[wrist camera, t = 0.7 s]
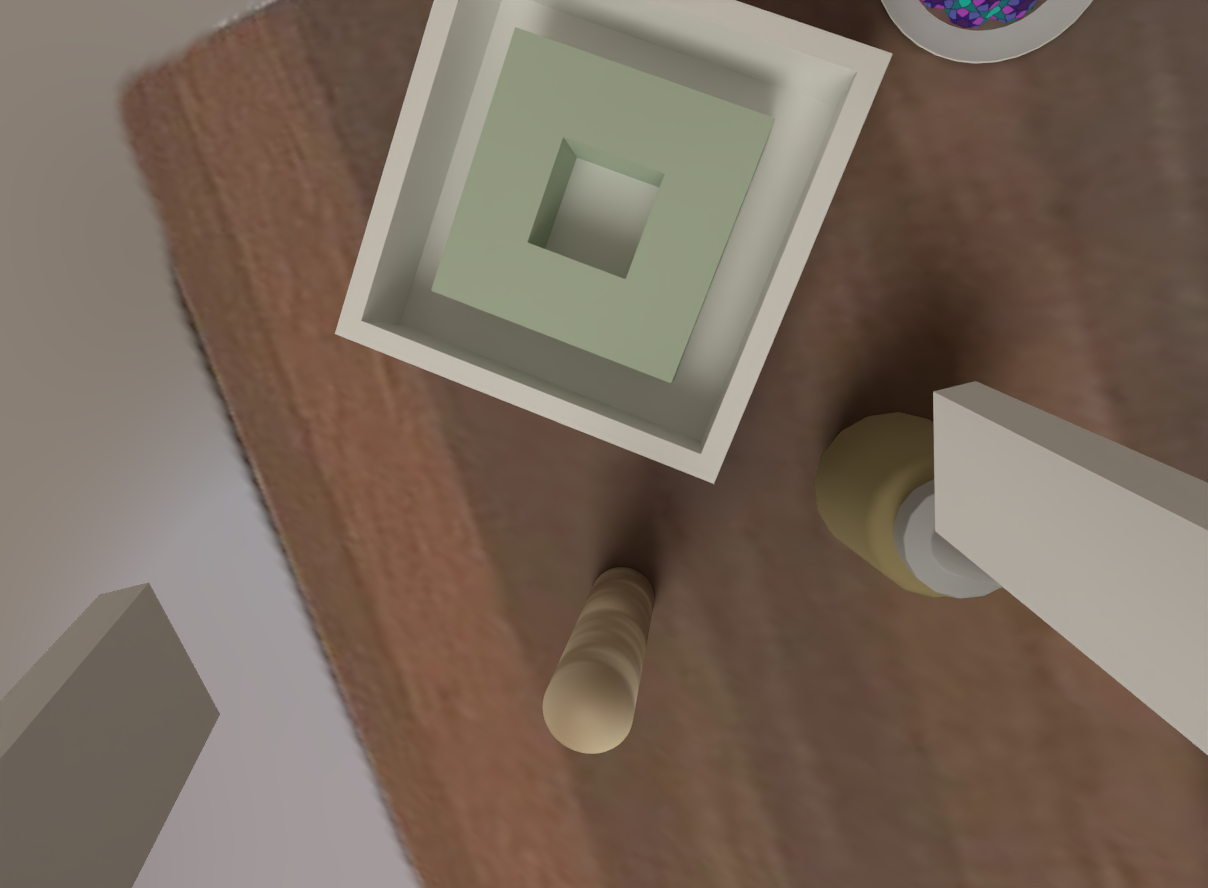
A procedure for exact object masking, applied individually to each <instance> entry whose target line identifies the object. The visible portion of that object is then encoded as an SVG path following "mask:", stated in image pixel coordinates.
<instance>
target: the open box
mask: <svg viewBox="0 0 1208 888" xmlns="http://www.w3.org/2000/svg"><path fill="white" fill-rule="evenodd" d="M515 27H517V28H520V29H522V30H525V31H528V32H531V33H534V34H537V35H540V36H542V37H545V38H548V39H551V40H554V41H557V42H560V43H562V44H565V45H568V46H571V47H574V48H577V49H579V50H582V51H585V52H588V53H591V54H594V55H597V56H599V57H602V58H605V59H608V60H611V61H614V62H616V63H619V64H622V65H625V66H628V67H631V68H634V69H636V70H639V71H642V72H645V73H648V74H651V75H654V76H656V77H659V78H662V79H665V80H668V81H671V82H673V83H676V84H679V85H682V86H685V87H688V88H691V89H693V90H696V91H699V92H702V93H705V94H708V95H711V96H713V97H716V98H719V99H722V100H725V101H728V102H730V103H733V104H736V105H739V106H742V107H745V108H748V109H750V110H753V111H756V112H759V113H762V114H765V115H767V116H770V117H773V118H775V120H774V124H773V127H772V130H771V133H770V136H769V139H768V142H767V144H766V147H765V149H764V152H763V154H762V157H761V160H760V162H759V165H758V167H757V170H756V172H755V175H754V177H753V180H752V182H751V185H750V187H749V190H748V193H747V195H746V198H745V200H744V203H743V205H742V208H741V210H740V213H739V215H738V218H737V221H736V223H735V226H734V228H733V231H732V233H731V236H730V238H729V241H728V243H727V246H726V249H725V251H724V254H723V256H722V259H721V261H720V264H719V266H718V269H717V271H716V274H715V277H714V279H713V282H712V284H711V287H710V289H709V292H708V294H707V297H706V299H705V302H704V305H703V307H702V310H701V312H700V315H699V317H698V320H697V322H696V325H695V327H694V330H693V333H692V335H691V338H690V340H689V343H688V345H687V348H686V350H685V353H684V355H683V358H682V360H681V363H680V366H679V368H678V371H677V373H676V376H675V378H674V380H673V382H672V383H669V382H666V381H664V380H661V379H658V378H656V377H653V376H651V375H648V374H645V373H643V372H640V371H638V370H635V369H633V368H630V367H627V366H625V365H622V364H620V363H617V362H614V361H612V360H609V359H607V358H604V357H601V356H599V355H596V354H594V353H591V352H589V351H586V350H583V349H581V348H578V347H576V346H573V345H570V344H568V343H565V342H563V341H560V340H557V339H555V338H552V337H550V336H547V335H545V334H542V333H539V332H537V331H534V330H532V329H529V328H526V327H524V326H521V325H519V324H516V323H513V322H511V321H508V320H506V319H503V318H501V317H498V316H495V315H493V314H490V313H488V312H485V311H482V310H480V309H477V308H475V307H472V306H469V305H467V304H464V303H462V302H459V301H457V300H454V299H451V298H449V297H446V296H444V295H441V294H438V293H436V292H433V291H431V289H432V286H433V283H434V280H435V276H436V273H437V270H438V267H439V264H440V261H441V258H442V255H443V251H444V248H445V245H446V242H447V239H448V236H449V233H450V230H451V226H452V223H453V220H454V217H455V214H456V211H457V208H458V204H459V201H460V198H461V195H462V192H463V189H464V186H465V183H466V179H467V176H468V173H469V170H470V167H471V164H472V161H473V157H474V154H475V151H476V148H477V145H478V142H479V139H480V136H481V132H482V129H483V126H484V123H485V120H486V117H487V114H488V111H489V107H490V104H491V101H492V98H493V95H494V92H495V89H496V85H497V82H498V79H499V76H500V73H501V70H502V67H503V64H504V60H505V57H506V54H507V51H508V48H509V45H510V42H511V38H512V35H513V32H514V29H515ZM891 57H892V53H889V52H886V51H883V50H881V49H878V48H875V47H872V46H869V45H866V44H863V43H860V42H857V41H854V40H851V39H848V38H845V37H842V36H839V35H836V34H833V33H830V32H827V31H824V30H822V29H819V28H816V27H813V26H810V25H807V24H804V23H801V22H798V21H795V20H792V19H789V18H786V17H783V16H780V15H777V14H774V13H771V12H768V11H765V10H763V9H760V8H757V7H754V6H751V5H748V4H745V3H742V2H739V1H736V0H434V2H433V6H432V9H431V12H430V16H429V19H428V22H427V26H426V29H425V33H424V36H423V39H422V43H421V46H420V49H419V53H418V56H417V59H416V63H415V66H414V70H413V73H412V76H411V80H410V83H409V86H408V90H407V93H406V96H405V100H404V103H403V107H402V110H401V113H400V117H399V120H398V123H397V127H396V130H395V133H394V137H393V140H392V144H391V147H390V150H389V154H388V157H387V160H386V164H385V167H384V170H383V174H382V177H381V181H380V184H379V187H378V191H377V194H376V197H375V201H374V204H373V207H372V211H371V214H370V218H369V221H368V224H367V228H366V231H365V234H364V238H363V241H362V244H361V248H360V251H359V255H358V258H357V261H356V265H355V268H354V271H353V275H352V278H351V281H350V285H349V288H348V292H347V295H346V298H345V302H344V305H343V308H342V312H341V315H340V318H339V322H338V325H337V329H336V332H335V334H337V335H339V336H342V337H344V338H347V339H349V340H352V341H354V342H357V343H359V344H362V345H364V346H367V347H370V348H372V349H375V350H377V351H380V352H382V353H385V354H387V355H390V356H392V357H395V358H397V359H400V360H402V361H405V362H407V363H410V364H412V365H415V366H417V367H420V368H423V369H425V370H428V371H430V372H433V373H435V374H438V375H440V376H443V377H445V378H448V379H450V380H453V381H455V382H458V383H460V384H463V385H465V386H468V387H470V388H473V389H476V390H478V391H481V392H483V393H486V394H488V395H491V396H493V397H496V398H498V399H501V400H503V401H506V402H508V403H511V404H513V405H516V406H518V407H521V408H524V409H526V410H529V411H531V412H534V413H536V414H539V415H541V416H544V417H546V418H549V419H551V420H554V421H556V422H559V423H561V424H564V425H566V426H569V427H571V428H574V429H577V430H579V431H582V432H584V433H587V434H589V435H592V436H594V437H597V438H599V439H602V440H604V441H607V442H609V443H612V444H614V445H617V446H619V447H622V448H624V449H627V450H630V451H632V452H635V453H637V454H640V455H642V456H645V457H647V458H650V459H652V460H655V461H657V462H660V463H662V464H665V465H667V466H670V467H672V468H675V469H677V470H680V471H683V472H685V473H688V474H690V475H693V476H695V477H698V478H700V479H703V480H705V481H708V482H710V483H713V484H714V482H715V480H716V478H717V475H718V473H719V470H720V468H721V466H722V463H723V461H724V458H725V456H726V453H727V451H728V449H729V446H730V444H731V441H732V439H733V437H734V434H735V432H736V429H737V427H738V425H739V422H740V420H741V417H742V415H743V413H744V410H745V408H746V405H747V403H748V401H749V398H750V396H751V393H752V391H753V389H754V386H755V384H756V381H757V379H758V377H759V374H760V372H761V369H762V367H763V364H764V362H765V360H766V357H767V355H768V352H769V350H770V348H771V345H772V343H773V340H774V338H775V336H776V333H777V331H778V328H779V326H780V324H781V321H782V319H783V316H784V314H785V312H786V309H787V307H788V304H789V302H790V300H791V297H792V295H793V292H794V290H795V288H796V285H797V283H798V280H799V278H800V275H801V273H802V271H803V268H804V266H805V263H806V261H807V259H808V256H809V254H810V251H811V249H812V247H813V244H814V242H815V239H816V237H817V235H818V232H819V230H820V227H821V225H822V223H823V220H824V218H825V215H826V213H827V211H828V208H829V206H830V203H831V201H832V198H833V196H834V194H835V191H836V189H837V186H838V184H839V182H840V179H841V177H842V174H843V172H844V170H845V167H846V165H847V162H848V160H849V158H850V155H851V153H852V150H853V148H854V146H855V143H856V141H857V138H858V136H859V134H860V131H861V129H862V126H863V124H864V122H865V119H866V117H867V114H868V112H869V109H870V107H871V105H872V102H873V100H874V97H875V95H876V93H877V90H878V88H879V85H880V83H881V81H882V78H883V76H884V73H885V71H886V69H887V66H888V64H889V61H890V59H891ZM658 190H659V187H656V186H654V185H651V184H648V183H645V182H643V181H640V180H637V179H634V178H632V177H629V176H626V175H623V174H621V173H618V172H615V171H612V170H610V169H607V168H604V167H602V166H599V165H596V164H593V163H591V162H588V161H585V160H582V159H580V158H576V161H575V164H574V167H573V170H572V173H571V176H570V178H569V181H568V184H567V187H566V190H565V193H564V196H563V199H562V202H561V204H560V207H559V210H558V213H557V216H556V219H555V222H554V225H553V228H552V230H551V233H550V236H549V239H548V242H547V245H546V248H545V249H546V250H549V251H552V252H554V253H557V254H559V255H562V256H565V257H567V258H570V259H573V260H575V261H578V262H581V263H583V264H586V265H589V266H591V267H594V268H597V269H599V270H602V271H605V272H607V273H610V274H613V275H615V276H618V277H621V278H623V279H626V277H627V274H628V272H629V269H630V266H631V263H632V261H633V258H634V255H635V253H636V250H637V247H638V245H639V242H640V239H641V236H642V234H643V231H644V228H645V226H646V223H647V220H648V217H649V215H650V212H651V209H652V207H653V204H654V201H655V199H656V196H657V193H658Z"/></svg>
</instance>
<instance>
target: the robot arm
mask: <svg viewBox="0 0 1208 888" xmlns="http://www.w3.org/2000/svg"><path fill="white" fill-rule="evenodd" d="M933 416H934V485H935V531H936V532H937V533H938V534H939V535H940V536H942V537H943V538H944V539H945V540H947V541H948V542H949V543H950V544H951V545H953V546H954V547H955V548H956V549H958V550H959V551H960V552H961V553H962V554H964V555H965V556H966V557H967V558H968V559H970V560H971V561H972V562H973V563H975V564H976V565H977V566H978V567H979V568H981V569H982V570H983V571H984V572H986V573H987V574H988V575H989V576H990V577H992V578H993V579H994V580H995V581H996V582H998V583H999V584H1000V585H1001V586H1003V587H1004V588H1005V589H1006V590H1007V591H1009V592H1010V593H1011V594H1012V595H1013V596H1015V597H1016V598H1017V599H1018V600H1020V601H1021V602H1022V603H1023V604H1024V605H1026V606H1027V607H1028V608H1029V609H1031V610H1032V611H1033V612H1034V613H1035V614H1037V615H1038V616H1039V617H1040V618H1041V619H1043V620H1044V621H1045V622H1046V623H1048V624H1049V625H1050V626H1051V627H1052V628H1054V629H1055V630H1056V631H1057V632H1059V633H1060V634H1061V635H1062V636H1063V637H1065V638H1066V639H1067V640H1068V641H1069V642H1071V643H1072V644H1073V645H1074V646H1076V647H1077V648H1078V649H1079V650H1080V651H1082V652H1083V653H1084V654H1085V655H1087V656H1088V657H1089V658H1090V659H1091V660H1093V661H1094V662H1095V663H1096V664H1097V665H1099V666H1100V667H1101V668H1102V669H1104V670H1105V671H1106V672H1107V673H1108V674H1110V675H1111V676H1112V677H1113V678H1114V679H1116V680H1117V681H1118V682H1119V683H1121V684H1122V685H1123V686H1124V687H1125V688H1127V689H1128V690H1129V691H1130V692H1132V693H1133V694H1134V695H1135V696H1136V697H1138V698H1139V699H1140V700H1141V701H1142V702H1144V703H1145V704H1146V705H1147V706H1149V707H1150V708H1151V709H1152V710H1153V711H1155V712H1156V713H1157V714H1158V715H1160V716H1161V717H1162V718H1163V719H1164V720H1166V721H1167V722H1168V723H1169V724H1170V725H1172V726H1173V727H1174V728H1175V729H1177V730H1178V731H1179V732H1180V733H1181V734H1183V735H1184V736H1185V737H1186V738H1188V739H1189V740H1190V741H1191V742H1192V743H1194V744H1195V745H1196V746H1197V747H1198V748H1200V749H1201V750H1202V751H1203V752H1205V753H1206V754H1207V755H1208V483H1207V482H1204V481H1202V480H1200V479H1198V478H1195V477H1193V476H1191V475H1188V474H1186V473H1184V472H1182V471H1179V470H1177V469H1175V468H1172V467H1170V466H1168V465H1166V464H1163V463H1161V462H1159V461H1157V460H1154V459H1152V458H1150V457H1147V456H1145V455H1143V454H1141V453H1138V452H1136V451H1134V450H1131V449H1129V448H1127V447H1125V446H1122V445H1120V444H1118V443H1116V442H1113V441H1111V440H1109V439H1106V438H1104V437H1102V436H1100V435H1097V434H1095V433H1093V432H1090V431H1088V430H1086V429H1084V428H1081V427H1079V426H1077V425H1075V424H1072V423H1070V422H1068V421H1065V420H1063V419H1061V418H1059V417H1056V416H1054V415H1052V414H1050V413H1047V412H1045V411H1043V410H1040V409H1038V408H1036V407H1034V406H1031V405H1029V404H1027V403H1024V402H1022V401H1020V400H1018V399H1015V398H1013V397H1011V396H1009V395H1006V394H1004V393H1002V392H999V391H997V390H995V389H993V388H990V387H988V386H986V385H983V384H981V383H979V382H977V381H974V382H970V383H966V384H962V385H958V386H954V387H950V388H946V389H941V390H937V391H933ZM219 715H220V713H219V712H218V710H217V708H216V707H215V704H214V703H213V701H212V699H211V697H210V695H209V693H208V691H207V689H206V687H205V686H204V684H203V682H202V680H201V678H200V676H199V675H198V673H197V671H196V669H195V667H194V665H193V663H192V662H191V660H190V658H189V656H188V654H187V652H186V650H185V649H184V647H183V645H182V643H181V641H180V639H179V637H178V636H177V634H176V632H175V630H174V628H173V627H172V625H171V623H170V621H169V619H168V617H167V615H166V613H165V612H164V610H163V608H162V606H161V604H160V602H159V600H158V599H157V597H156V595H155V593H154V591H153V589H152V588H151V586H150V584H149V583H146V584H141V585H137V586H133V587H129V588H125V589H121V590H117V591H113V592H109V593H105V594H100V595H99V596H98V597H97V598H96V599H95V600H94V601H93V602H92V604H91V605H90V606H89V607H88V608H87V609H86V610H85V611H84V612H83V613H82V615H81V616H79V617H78V618H77V620H76V621H75V622H74V623H73V624H72V625H71V626H70V627H69V628H68V629H67V630H66V631H65V632H64V634H63V635H62V636H61V637H60V638H59V639H58V640H57V641H56V642H55V643H54V644H53V645H52V646H51V647H50V648H49V649H48V651H47V652H46V653H45V654H44V655H43V656H42V657H41V658H40V659H39V660H38V661H37V662H36V663H35V664H34V666H33V667H32V668H31V669H30V670H29V671H28V672H27V673H26V674H25V675H24V676H23V677H22V678H21V679H20V681H19V682H18V683H17V684H16V685H15V686H14V687H13V688H12V689H11V690H10V691H9V692H8V693H7V694H6V696H5V697H4V698H3V699H2V700H1V701H0V888H132V886H133V884H134V882H135V880H136V878H137V876H138V874H139V872H140V870H141V869H142V867H143V865H144V863H145V861H146V858H147V857H148V855H149V853H150V851H151V849H152V847H153V845H154V843H155V841H156V839H157V837H158V835H159V833H160V831H161V829H162V827H163V825H164V823H165V821H166V819H167V817H168V815H169V813H170V812H171V810H172V807H173V806H174V804H175V801H176V800H177V798H178V796H179V794H180V792H181V790H182V788H183V786H184V784H185V782H186V780H187V778H188V776H189V774H190V772H191V770H192V768H193V766H194V764H195V762H196V760H197V758H198V756H199V755H200V752H201V750H202V748H203V747H204V745H205V743H206V741H207V739H208V737H209V735H210V733H211V731H212V729H213V727H214V725H215V723H216V721H217V719H218V717H219Z"/></svg>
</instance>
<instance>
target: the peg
mask: <svg viewBox="0 0 1208 888" xmlns="http://www.w3.org/2000/svg"><path fill="white" fill-rule="evenodd" d="M653 605H654V592H653V589H652V586H651V584H650V582H649V581H648V580H647V578H646V577H645V576H644V575H643V574H641V573H640V572H638V571H636V570H634V569H632V568H628V567H615V568H611V569H609V570H607V571H605V572H603V573H602V574H601V575H600V576H599V577H598V578H597V580H596V581H595V583H594V585H593V587H592V590H591V592H590V594H589V596H588V599H587V601H586V603H585V605H584V608H583V610H582V612H581V614H580V617H579V619H578V621H577V623H576V626H575V628H574V630H573V632H572V634H571V637H570V639H569V641H568V643H567V646H566V648H565V650H564V652H563V655H562V657H561V659H560V661H559V664H558V666H557V668H556V670H555V673H554V675H553V677H552V679H551V682H550V684H549V686H548V688H547V691H546V693H545V696H544V700H543V714H544V719H545V722H546V724H547V726H548V728H549V730H550V732H551V733H552V734H553V736H554V737H555V738H556V739H557V740H558V741H559V742H561V743H562V744H563V745H565V746H566V747H568V748H570V749H572V750H575V751H578V752H582V753H589V754H592V753H602V752H605V751H608V750H610V749H612V748H614V747H616V746H617V745H619V744H620V743H621V742H622V741H623V740H624V739H625V737H626V736H627V735H628V733H629V731H630V729H631V726H632V722H633V717H634V711H635V705H636V700H637V694H638V689H639V683H640V678H641V672H642V666H643V661H644V655H645V650H646V644H647V639H648V633H649V627H650V622H651V616H652V611H653Z"/></svg>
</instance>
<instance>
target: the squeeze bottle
mask: <svg viewBox="0 0 1208 888" xmlns="http://www.w3.org/2000/svg"><path fill="white" fill-rule="evenodd" d="M814 486H815V494H816V502H817V509H818V512H819V514H820V515H821V517H822V519H823V520H824V522H825V524H826V525H827V527H828V529H829V530H830V532H831V534H832V535H833V536H834V537H836V538H837V539H838V540H840V541H841V542H842V543H844V544H845V545H846V546H848V547H849V548H850V549H851V550H853V551H854V552H855V553H857V554H858V555H859V556H861V557H862V558H863V559H865V560H866V561H867V562H868V563H870V564H871V565H872V566H874V567H875V568H876V569H878V570H879V571H880V572H882V573H883V574H884V575H886V576H887V577H888V578H890V579H891V580H892V581H894V582H895V583H897V584H898V585H899V586H901V587H902V588H903V589H905V590H907V591H911V592H915V593H919V594H922V595H926V596H930V597H934V598H938V597H948V596H952V597H955V598H968V597H978V596H984V595H986V594H988V593H990V592H993V591H995V590H997V589H999V588H1001V587H1002V588H1004V587H1003V586H1001V585H1000V584H999V583H998V582H996V581H995V580H994V579H993V578H992V577H990V576H989V575H988V574H987V573H986V572H984V571H983V570H982V569H981V568H979V567H978V566H977V565H976V564H975V563H973V562H972V561H971V560H970V559H968V558H967V557H966V556H965V555H964V554H962V553H961V552H960V551H959V550H958V549H956V548H955V547H954V546H953V545H951V544H950V543H949V542H948V541H947V540H945V539H944V538H943V537H942V536H940V535H939V534H938V533H937V532H936V531H935V485H934V422H932V421H931V420H929V419H926V418H922V417H918V416H914V415H909V414H905V413H901V412H894V413H887V414H880V415H873V416H867V417H866V418H864V419H862V420H860V421H858V422H857V423H855V424H853V425H851V426H850V427H848V428H846V429H844V430H842V431H841V432H840V433H839V434H838V436H837V437H836V438H835V439H834V441H833V442H832V443H831V444H830V445H829V447H828V448H827V449H826V450H825V452H824V453H823V454H822V457H821V460H820V464H819V467H818V470H817V474H816V477H815V481H814Z"/></svg>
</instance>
